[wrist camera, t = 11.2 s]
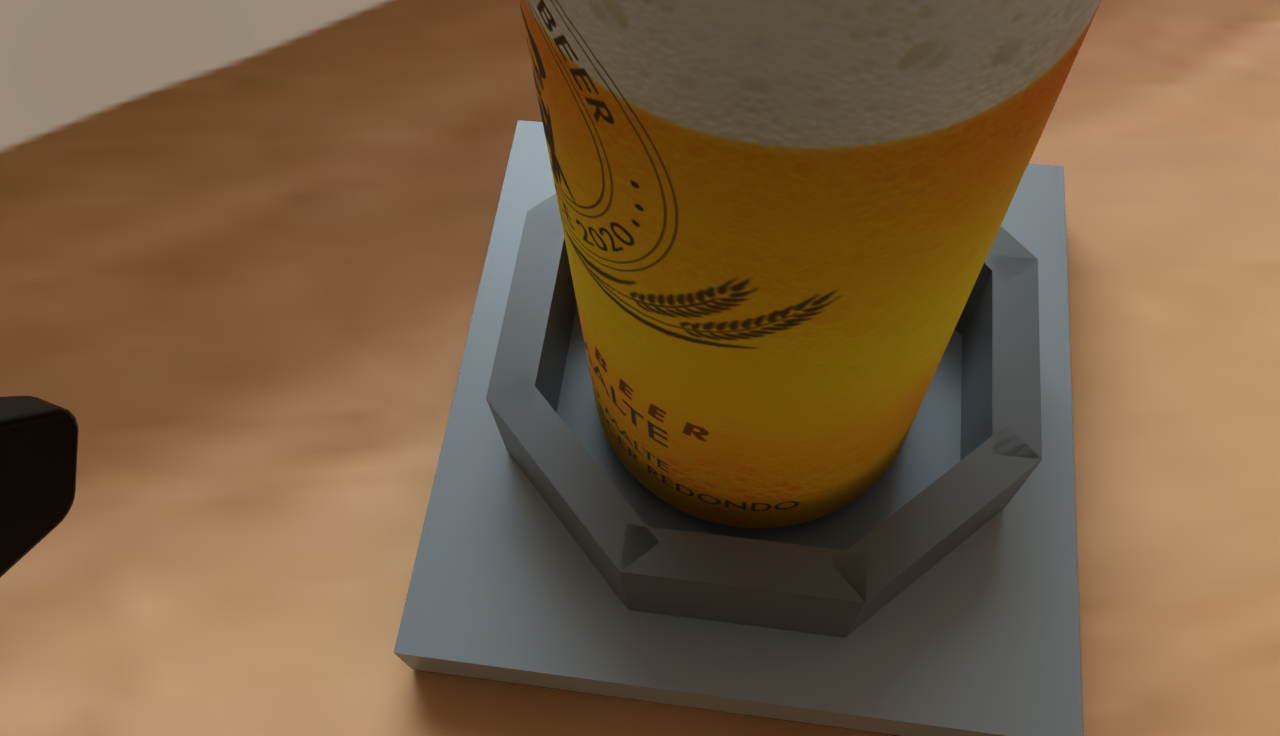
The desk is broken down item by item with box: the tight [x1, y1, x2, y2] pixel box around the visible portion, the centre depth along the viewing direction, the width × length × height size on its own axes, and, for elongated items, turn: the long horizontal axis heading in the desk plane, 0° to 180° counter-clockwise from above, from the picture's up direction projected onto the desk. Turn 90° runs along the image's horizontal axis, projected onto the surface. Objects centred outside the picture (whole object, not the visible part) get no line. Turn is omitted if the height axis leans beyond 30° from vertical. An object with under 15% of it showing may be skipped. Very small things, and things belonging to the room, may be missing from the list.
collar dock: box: [394, 120, 1083, 736], centre depth 21 cm, size 12×12×4 cm
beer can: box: [519, 0, 1101, 528], centre depth 15 cm, size 6×6×15 cm
